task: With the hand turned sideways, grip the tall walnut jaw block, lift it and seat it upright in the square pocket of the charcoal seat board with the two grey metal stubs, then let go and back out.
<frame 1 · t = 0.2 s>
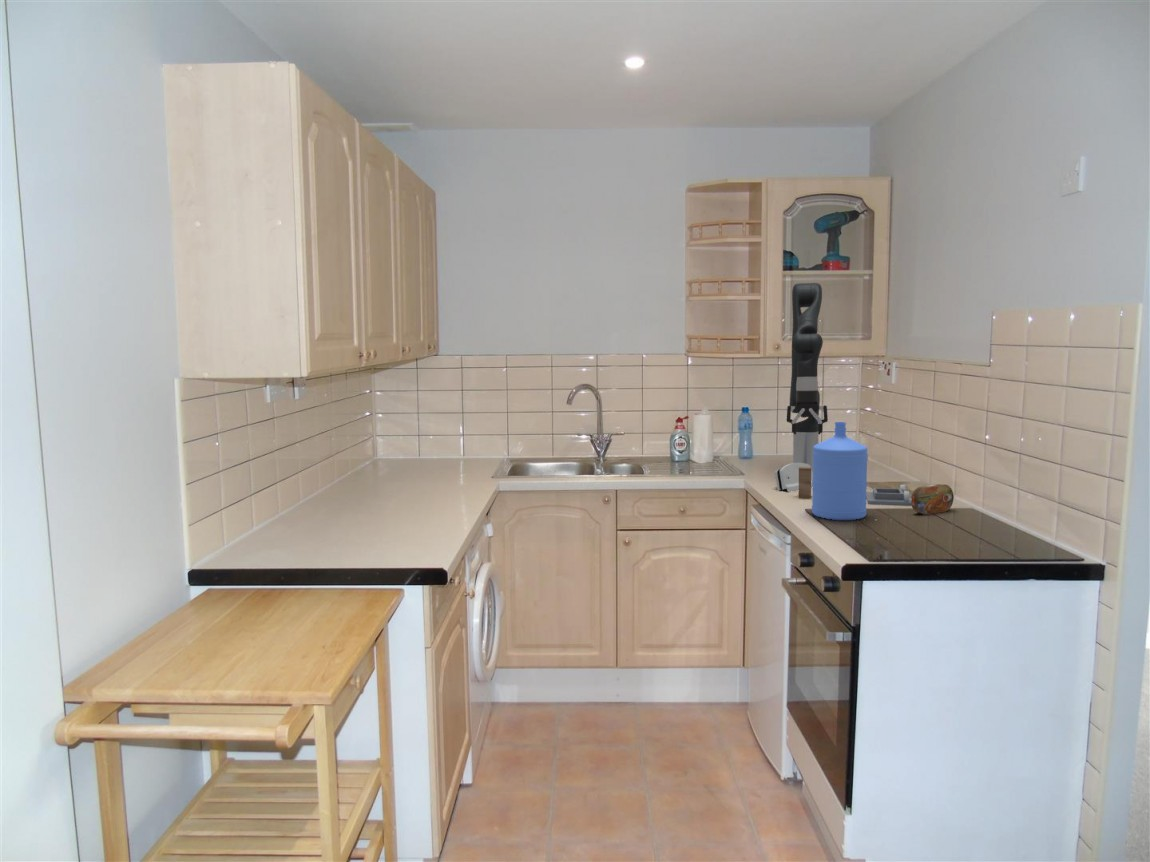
hand: (807, 434, 291), 18 cm above the table, tool pointing down, fingers open, 8 cm apart
water jug: (838, 515, 242), on the table
jaw block: (804, 497, 269), on the table
tin: (931, 513, 243), on the table
seat board: (887, 500, 262), on the table
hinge: (795, 488, 285), on the table
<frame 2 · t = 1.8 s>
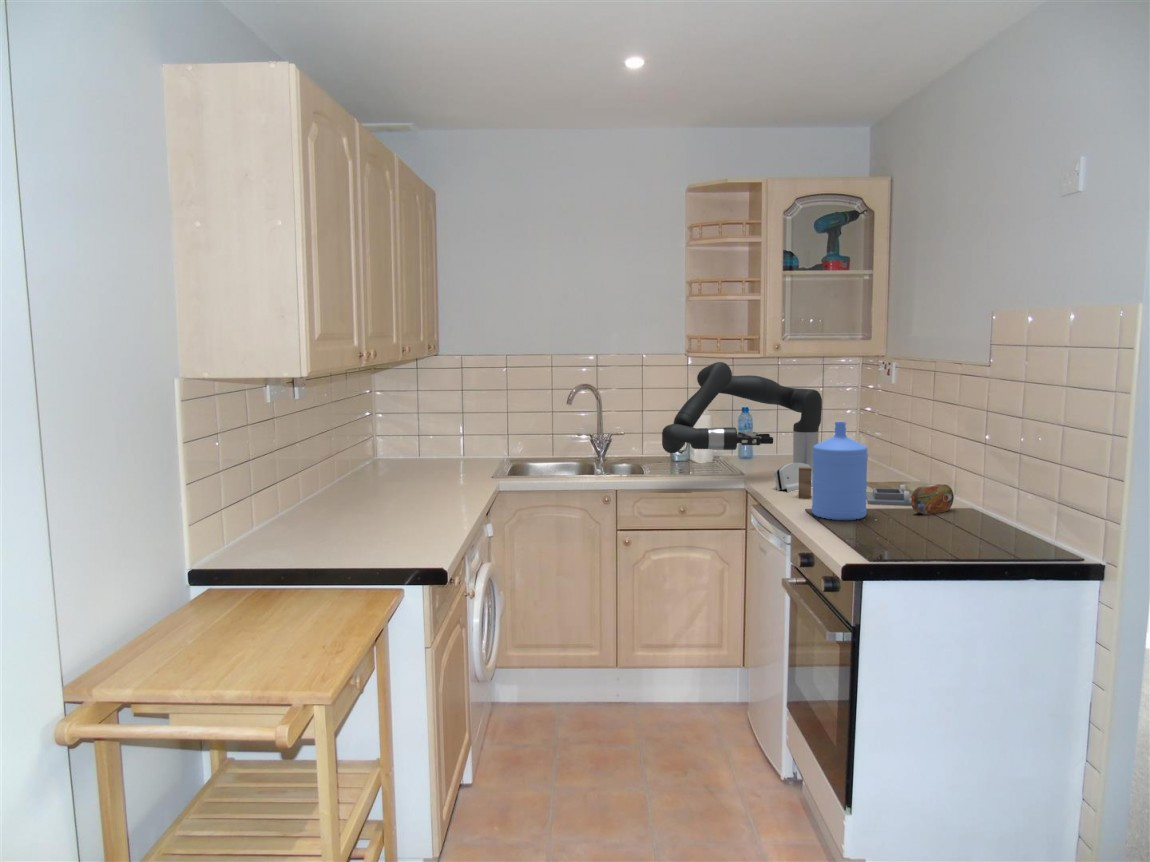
hand: (771, 438, 267), 20 cm above the table, tool horizontal, fingers open, 8 cm apart
nothing on the table moved.
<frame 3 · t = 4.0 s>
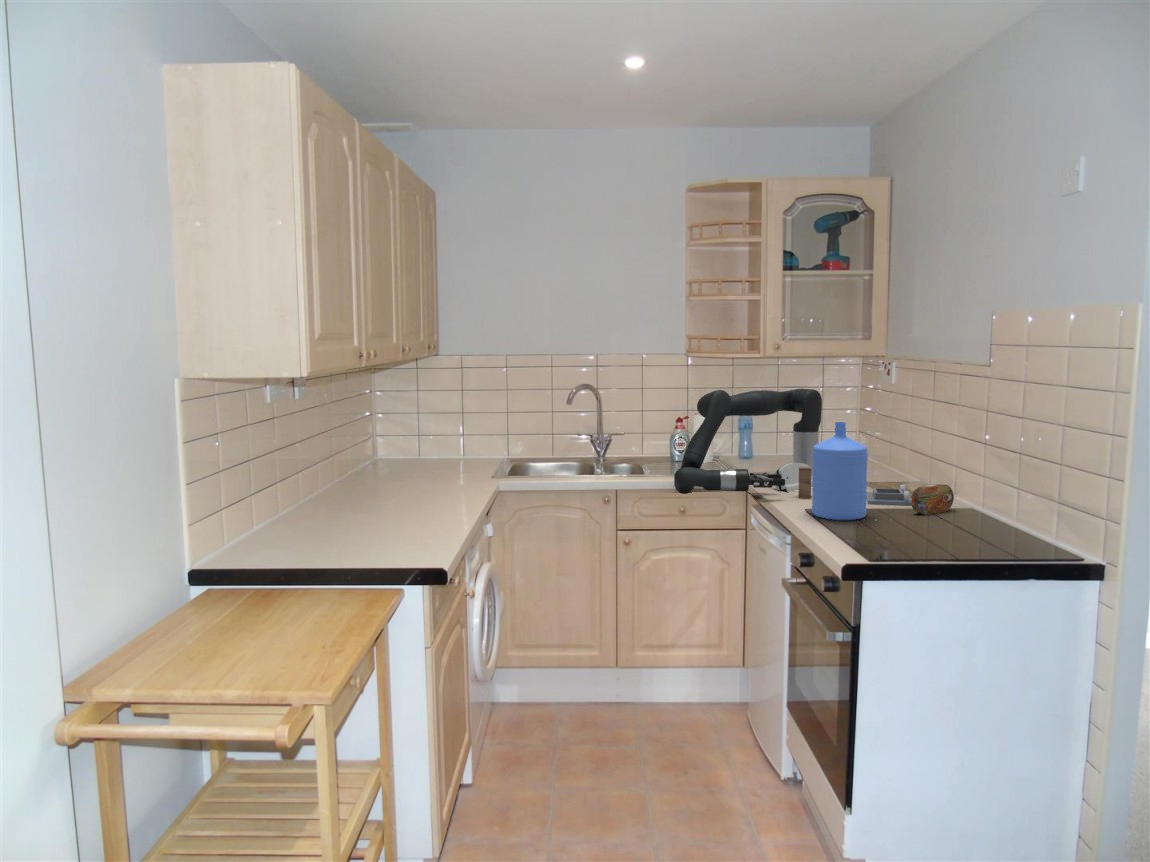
hand: (783, 479, 269), 6 cm above the table, tool horizontal, fingers open, 8 cm apart
nothing on the table moved.
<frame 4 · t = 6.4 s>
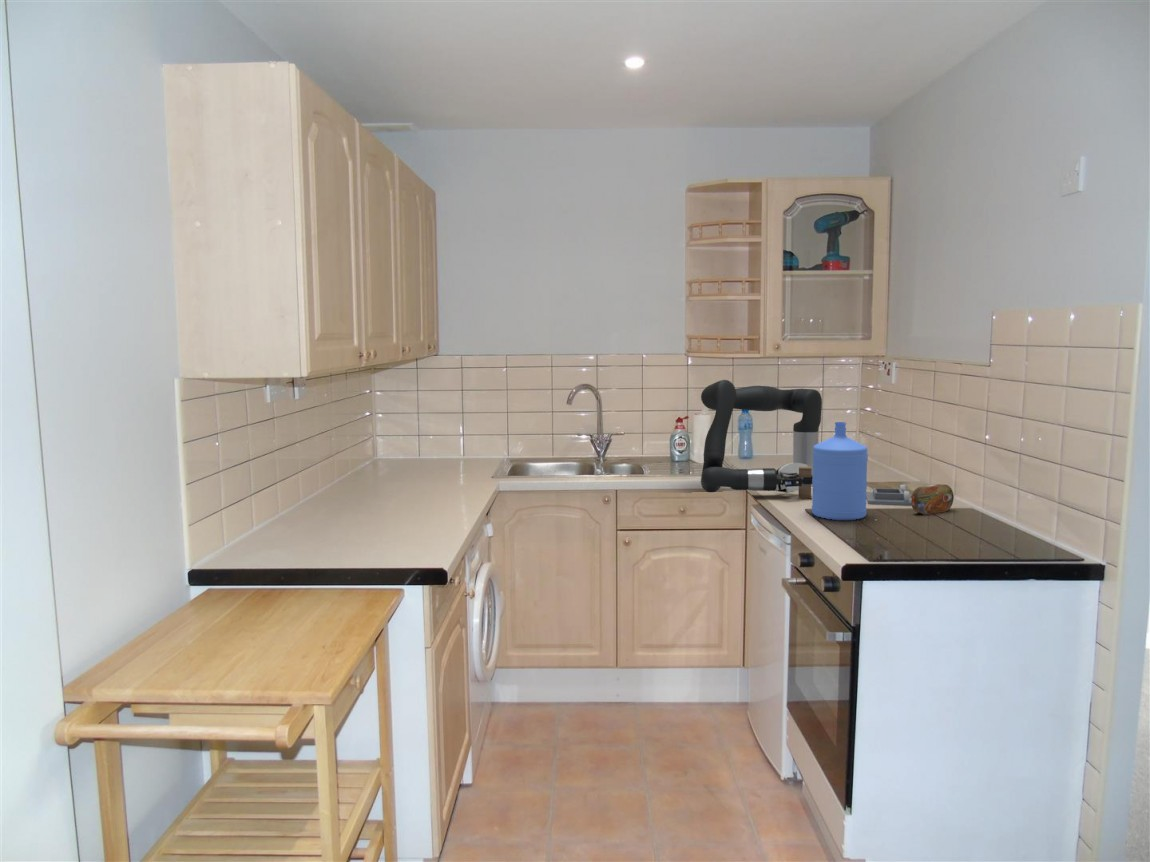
hand: (813, 479, 268), 6 cm above the table, tool horizontal, fingers closed on jaw block, 4 cm apart
jaw block: (804, 497, 269), on the table, touching gripper
everything else where it was.
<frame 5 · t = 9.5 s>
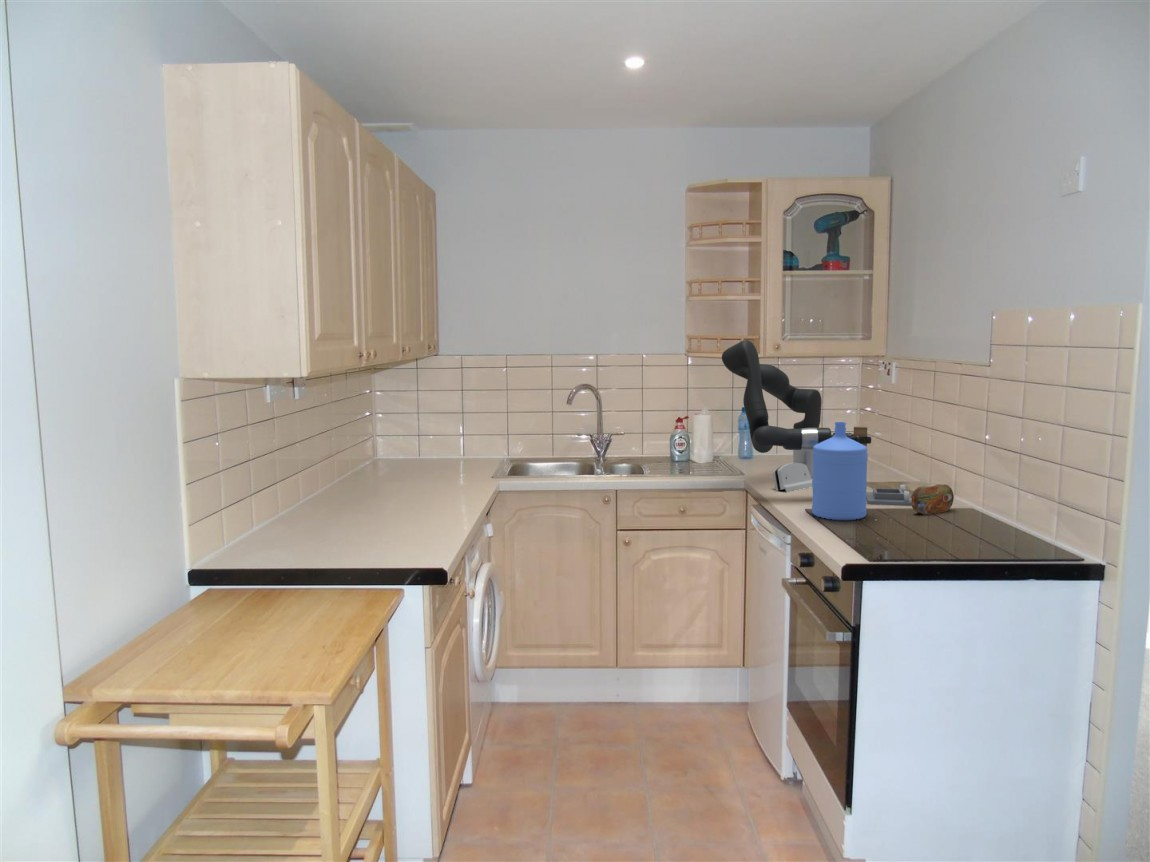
hand: (868, 439, 261), 20 cm above the table, tool horizontal, fingers closed on jaw block, 4 cm apart
jaw block: (859, 457, 262), point 14 cm above the table, touching gripper
when the fingers open (8 cm above the table, at t = 12.7 s): jaw block drops 1 cm, resting on seat board.
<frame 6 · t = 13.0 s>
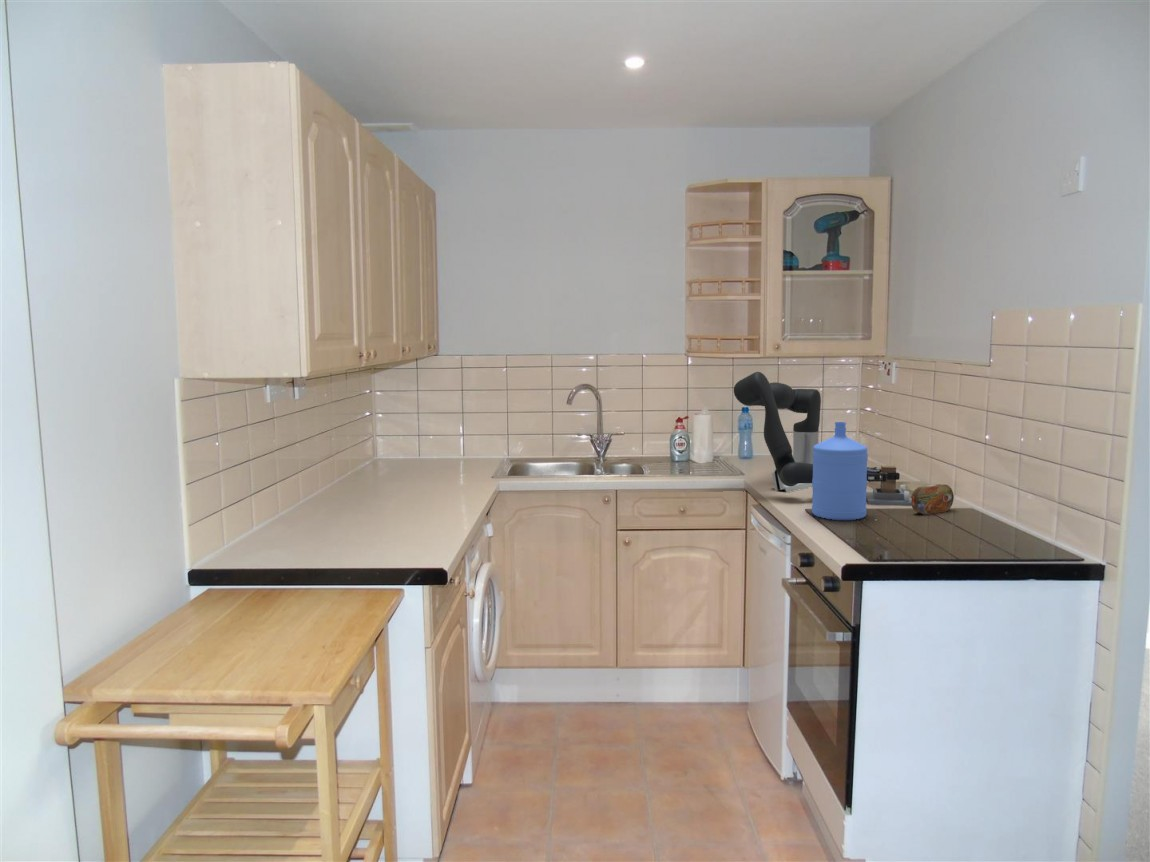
hand: (895, 474, 260), 8 cm above the table, tool horizontal, fingers open, 6 cm apart
jaw block: (887, 496, 261), point 1 cm above the table, touching seat board
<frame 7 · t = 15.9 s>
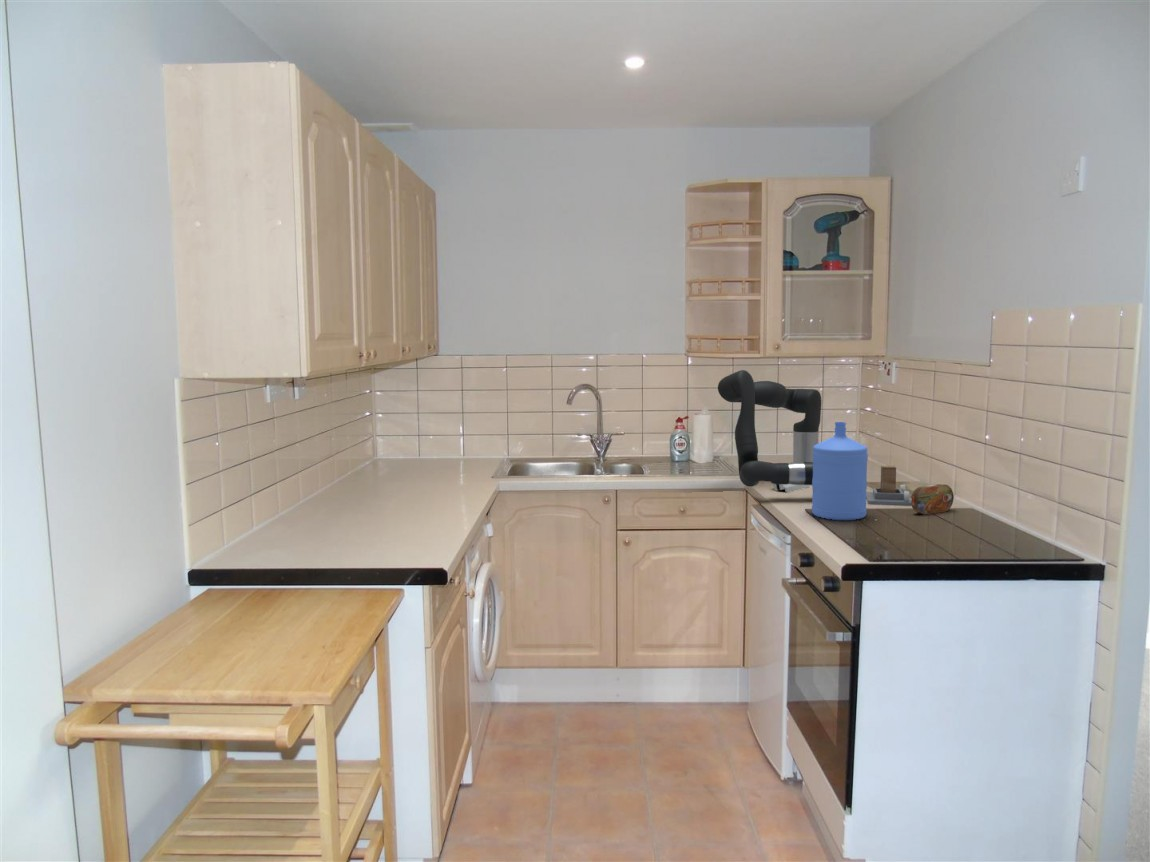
hand: (853, 473, 262), 9 cm above the table, tool horizontal, fingers open, 8 cm apart
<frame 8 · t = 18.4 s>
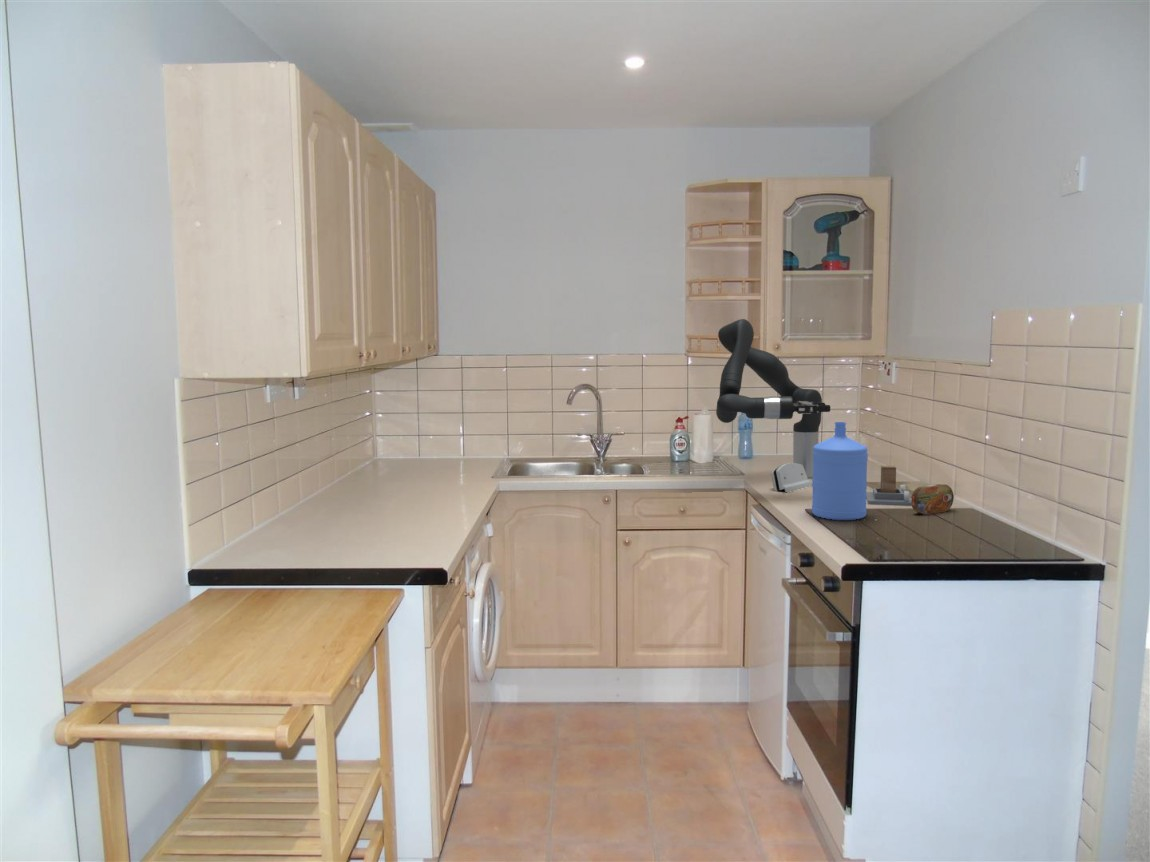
hand: (827, 407, 265), 30 cm above the table, tool horizontal, fingers open, 8 cm apart
at the end: jaw block 0.0 cm off-centre on the seat board, point 1.0 cm above the seat board's base; jaw block tilted 0°; the gripper is holding nothing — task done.
